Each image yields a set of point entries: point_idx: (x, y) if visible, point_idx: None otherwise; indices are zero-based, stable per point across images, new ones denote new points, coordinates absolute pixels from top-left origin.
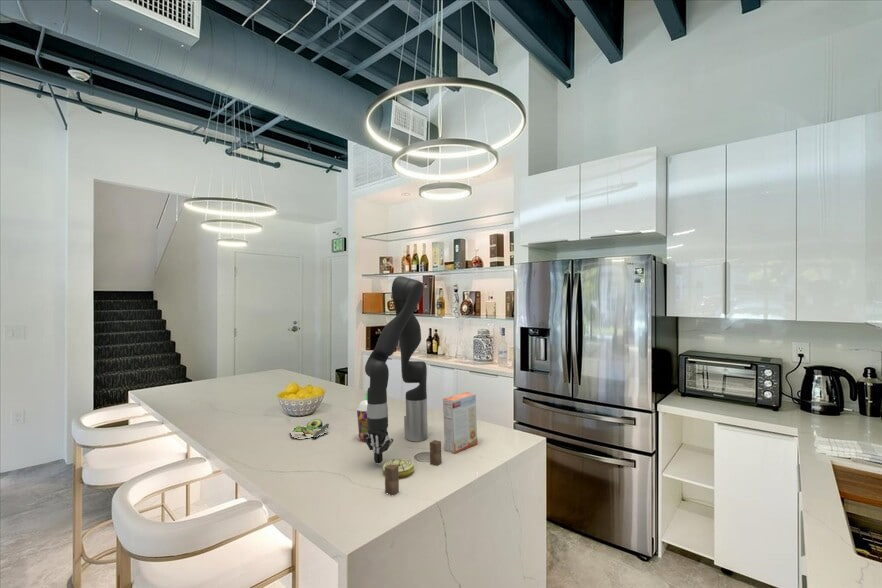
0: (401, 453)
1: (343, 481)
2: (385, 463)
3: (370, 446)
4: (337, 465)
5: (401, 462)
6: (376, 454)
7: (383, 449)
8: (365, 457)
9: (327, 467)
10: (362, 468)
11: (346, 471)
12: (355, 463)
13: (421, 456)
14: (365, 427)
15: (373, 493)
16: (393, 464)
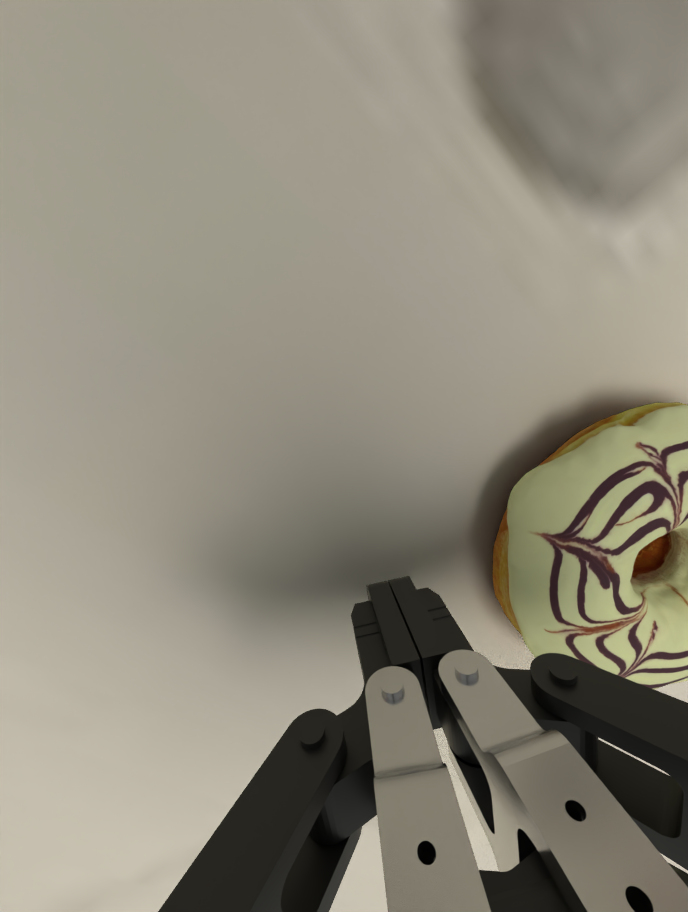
0: (287, 157)
1: (373, 857)
2: (559, 649)
3: (338, 872)
4: (59, 798)
5: (684, 524)
6: (430, 716)
7: (639, 793)
8: (64, 538)
9: (39, 863)
10: (291, 684)
11: (240, 791)
12: (140, 677)
13: (563, 63)
14: None
15: None
16: (649, 613)
